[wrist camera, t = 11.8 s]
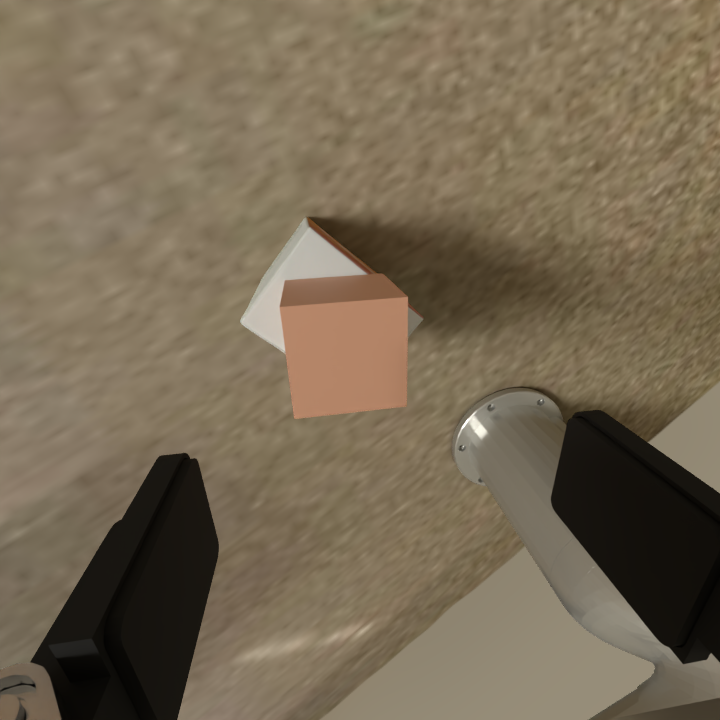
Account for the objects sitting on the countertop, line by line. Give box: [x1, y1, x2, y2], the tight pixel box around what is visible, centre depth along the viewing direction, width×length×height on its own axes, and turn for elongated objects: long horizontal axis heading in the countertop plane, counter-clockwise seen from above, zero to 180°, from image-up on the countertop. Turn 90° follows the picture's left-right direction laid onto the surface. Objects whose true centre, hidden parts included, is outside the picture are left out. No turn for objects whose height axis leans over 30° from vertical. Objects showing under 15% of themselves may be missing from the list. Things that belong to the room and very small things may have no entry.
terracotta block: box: [280, 273, 408, 419], centre depth 18 cm, size 5×5×5 cm
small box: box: [240, 217, 423, 354], centre depth 26 cm, size 8×6×13 cm
